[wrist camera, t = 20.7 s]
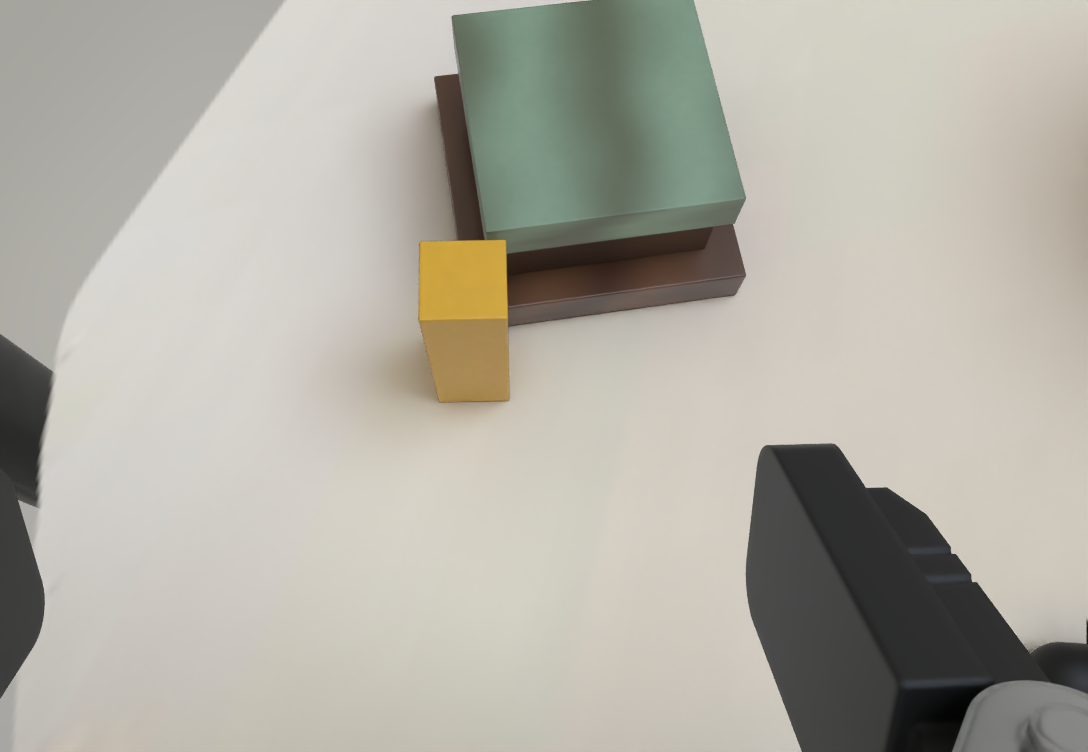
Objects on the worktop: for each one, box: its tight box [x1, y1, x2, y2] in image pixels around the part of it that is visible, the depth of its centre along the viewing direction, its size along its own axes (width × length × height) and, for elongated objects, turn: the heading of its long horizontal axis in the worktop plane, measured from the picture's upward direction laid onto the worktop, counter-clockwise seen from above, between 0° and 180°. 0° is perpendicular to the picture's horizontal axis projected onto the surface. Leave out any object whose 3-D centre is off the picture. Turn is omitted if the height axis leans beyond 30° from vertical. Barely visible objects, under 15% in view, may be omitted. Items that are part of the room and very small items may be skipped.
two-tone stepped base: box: [434, 0, 746, 326], centre depth 40 cm, size 12×12×7 cm
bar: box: [418, 240, 509, 402], centre depth 36 cm, size 3×3×9 cm
